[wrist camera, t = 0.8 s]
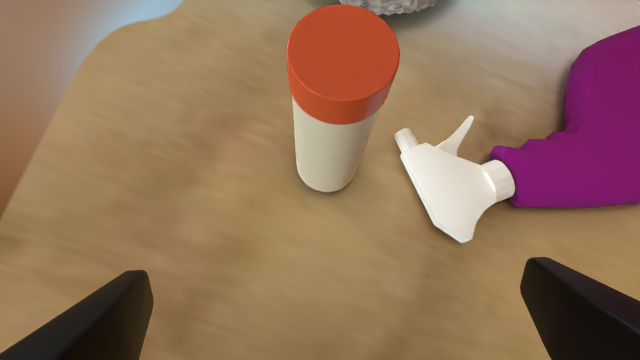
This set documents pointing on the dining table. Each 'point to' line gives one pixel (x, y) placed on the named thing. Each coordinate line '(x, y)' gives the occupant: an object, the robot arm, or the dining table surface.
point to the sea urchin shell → (391, 5)
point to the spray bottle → (545, 149)
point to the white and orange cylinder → (337, 89)
